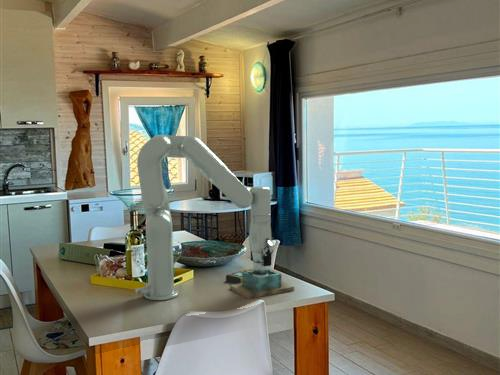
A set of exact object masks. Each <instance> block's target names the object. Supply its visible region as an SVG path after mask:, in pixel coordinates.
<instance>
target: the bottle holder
mask: <svg viewBox="0 0 500 375" xmlns="http://www.w3.org/2000/svg"><path fill="white" fill-rule="evenodd" d="M229 290H231V291H233V292H235V293H237V294H239V295H240V296H243V297H245V298H246V299H248V300H249V299H255V298H256V299H257V298H261V297H265V296H271V294H272V295H276V294H277V293H278V294H282V293H281V292H283V293H288V292H287V291H289V292H293V290H294V291H295V286H293V285H292V284H289V283H288V282H285V281H282V273H280V272H278V271H275V270H273V269H270V268H268V275H267V276H261V277H255V276H253V271H247V272H242V283H239V284H235V283H232V284H229Z"/></svg>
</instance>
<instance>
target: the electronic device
mask: <svg viewBox="0 0 500 375" xmlns="http://www.w3.org/2000/svg"><path fill="white" fill-rule="evenodd" d="M247 271H253V267H252V268H251V267H250V268H248V269H244V270H240V271H236V272H233V273H228V274H226V275H225V281H226V282H228V283H231V284H239V283H242V272H247Z"/></svg>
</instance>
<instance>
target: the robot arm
mask: <svg viewBox="0 0 500 375" xmlns="http://www.w3.org/2000/svg"><path fill="white" fill-rule="evenodd" d="M164 158H179V159H182V158H183V159H184V158H185V159H186V160H187V161H188V162H189V163H190V164H191V165H192V166H193V167H194V168H195V169H196V170H198V171H199V173H200V174H201V175H202V176H203V177H205V179H206V180H208V182H210V184H212V185H213V186H215V187H216V188H217V189H218V190H219V191H220V192H221V193H222V194H223V195H224V196H225V197H226V198H228V200H230V202H231V203H232V204H233V205H234V206H236V208H239V209H247V208H249V207H250V224H249V231H248V232H249V234H248V245H249V250H250V261H251V262H253V256H252V249H251V248H252V246H255V248H256V249H258V250H263V253H264V255H265V256H263V266H267V267H269V266H271V265H272V255H273V252H274V249H275V248H274V247H275V246H274V244H273V242H272V227H271V222H272V221H271V220H272V218H271V213H272V212H271V202H272V200H271V199H272V198H271V188H270V187H268V186H263V185H261V186H260V185H259V186H246V185H244V184H243V183H242V182H241V181H240V180H239V179H238V178H237V177H236V175H235V174H234V173H232V171H231V170H230V169H229V168H228V166H226V164H225V163H224V162H223V161H222V160H221V159H220V158H219V157H218V156H217V155H216V154H215V153H214V152H213V151H212V150H211V149H210V148H209V147H208V146H207V145H206V144H205V143H204V142H203V141H202V140H201V139H200V138H198V137H197V136H194V135H169V134H168V135H167V134H157V135H154V136H153V137H151V138H150V139H149V140H147V141H146V142H145V143H144V144H143V145H142V147H141V148H140V150H139V153H138V155H137V163H136V164H137V172H138V181H139V187H140V193H141V194H140V197H141V200H142V203H143V209H144V213H145V218H146V222H145V236H146V237H145V238H146V239H145V240H146V256H147V258H146V259H147V283H145V286H143V287H135V294H141V295H143V294H144V298H145V299H146V300H152V301H167V300H171V299H174V298H176V297H178V296H179V290H178V289H176V288H175V279H174V276H175V275H174V273H175V272H174V250H173V248H174V247H173V220H172V219H173V218H172V214H171V210H170V209H171V208H170V202H169V196H168V191H167V188H166V186H165V184H164V183H165V182H164V179H163V172H162V161H163V159H164ZM265 247H266V248H265ZM266 250H267V252H266Z"/></svg>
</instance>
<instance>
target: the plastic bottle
mask: <svg viewBox="0 0 500 375" xmlns="http://www.w3.org/2000/svg"><path fill="white" fill-rule="evenodd" d="M265 248H266V247H265ZM251 249H252V250H251V251H252V256H253V261H252V262H253V263H252V264H253V265H252V266H253V267H252V268H253V276H255V277H261V276H267V275H268V269H269V268H268V266H263V256H265V255H264V253H263V250H258V249H256V248H255V246H252V248H251ZM266 252H267V250H266Z"/></svg>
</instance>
